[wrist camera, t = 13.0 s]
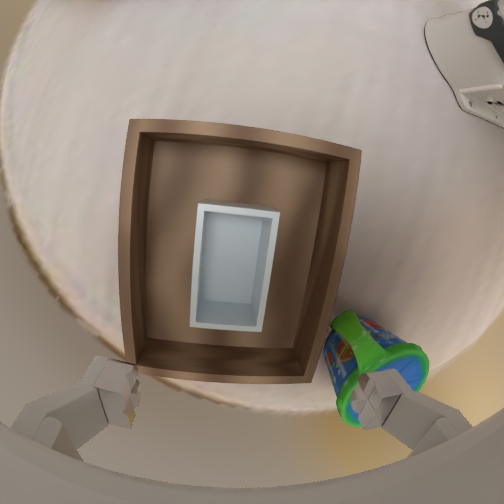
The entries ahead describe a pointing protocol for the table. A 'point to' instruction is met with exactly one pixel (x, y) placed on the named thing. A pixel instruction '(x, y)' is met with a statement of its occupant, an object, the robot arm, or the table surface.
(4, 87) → the table surface
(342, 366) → the snack cup
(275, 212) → the small crate
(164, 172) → the large crate
